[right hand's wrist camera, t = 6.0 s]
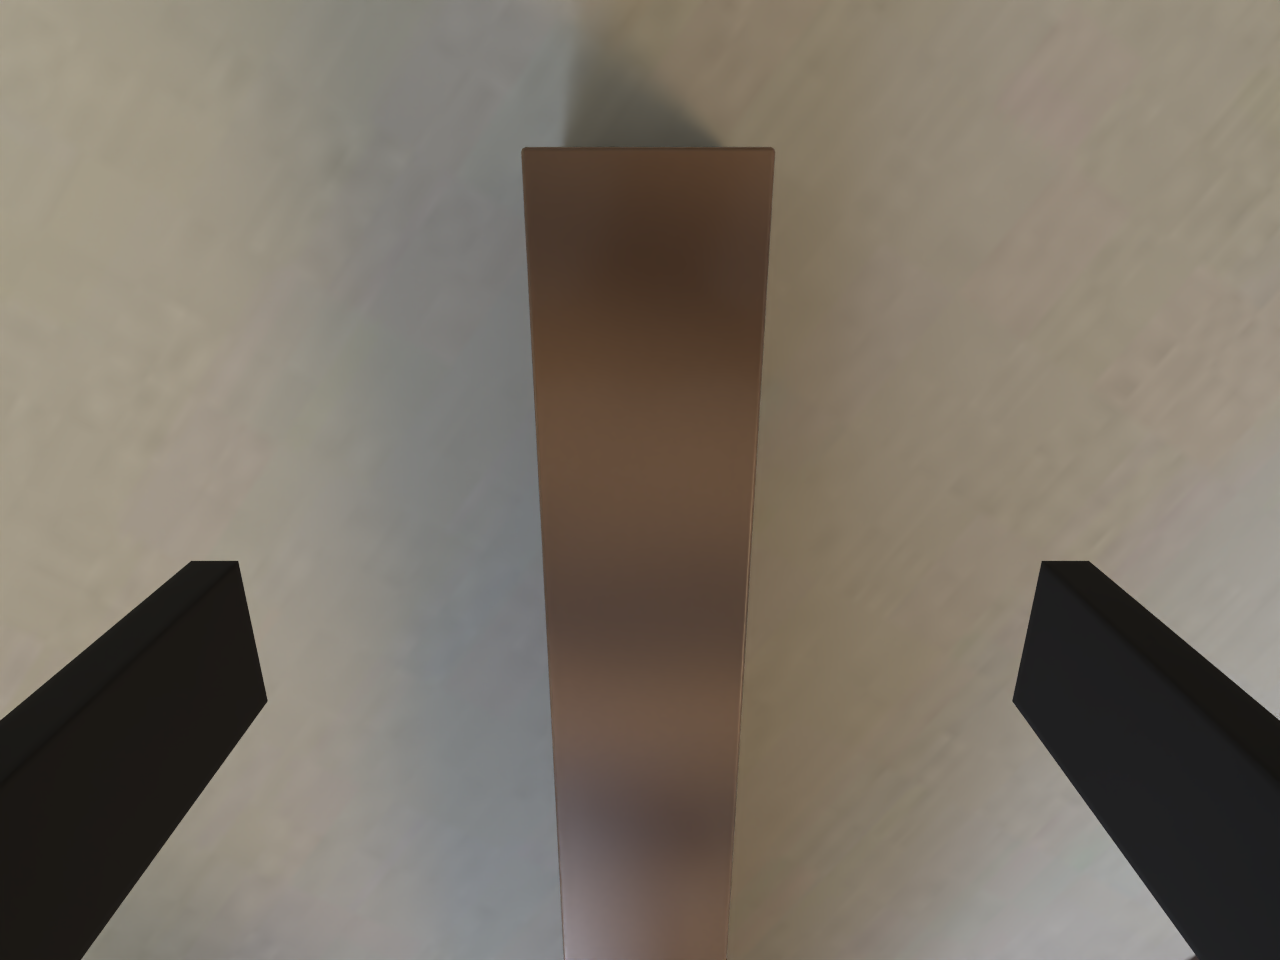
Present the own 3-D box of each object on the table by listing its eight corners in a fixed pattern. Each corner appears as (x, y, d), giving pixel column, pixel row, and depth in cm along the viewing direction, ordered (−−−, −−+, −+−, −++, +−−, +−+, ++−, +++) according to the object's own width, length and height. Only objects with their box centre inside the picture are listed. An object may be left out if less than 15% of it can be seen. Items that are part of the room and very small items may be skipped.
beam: (559, 155, 22) (520, 146, 15) (734, 155, 22) (776, 146, 15) (597, 1219, 42) (588, 1427, 35) (689, 1220, 42) (698, 1428, 35)
